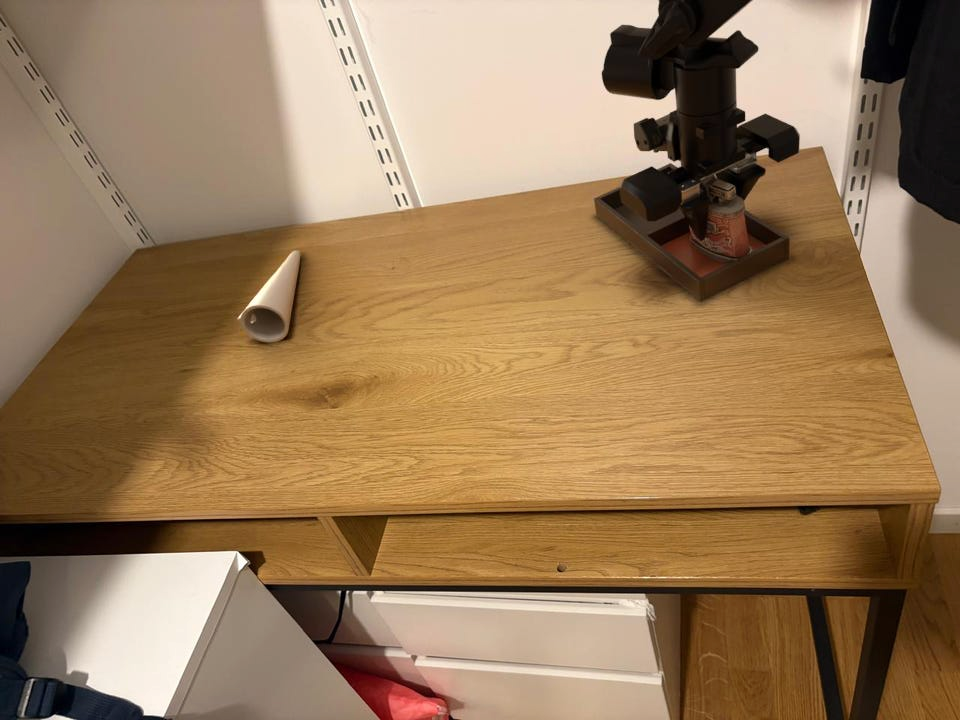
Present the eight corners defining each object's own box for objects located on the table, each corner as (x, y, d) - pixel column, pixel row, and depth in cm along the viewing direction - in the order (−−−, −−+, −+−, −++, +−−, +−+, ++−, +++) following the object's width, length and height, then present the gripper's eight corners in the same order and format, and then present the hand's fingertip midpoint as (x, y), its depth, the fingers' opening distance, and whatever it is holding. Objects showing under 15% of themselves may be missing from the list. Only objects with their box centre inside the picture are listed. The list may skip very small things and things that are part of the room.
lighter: (684, 245, 88) (669, 176, 81) (705, 229, 89) (691, 159, 82) (737, 270, 82) (725, 198, 75) (759, 252, 83) (749, 179, 76)
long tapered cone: (339, 259, 109) (296, 337, 94) (302, 269, 111) (254, 347, 96) (321, 225, 106) (274, 300, 91) (283, 236, 108) (231, 311, 93)
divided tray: (672, 182, 99) (670, 162, 97) (789, 258, 83) (789, 237, 81) (596, 217, 98) (593, 198, 96) (700, 302, 81) (699, 282, 79)
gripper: (733, 47, 81) (736, 173, 91) (584, 114, 78) (604, 236, 88) (806, 75, 72) (800, 210, 83) (641, 150, 70) (656, 280, 80)
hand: (712, 232), depth 84 cm, fingers closed on lighter, 3 cm apart
